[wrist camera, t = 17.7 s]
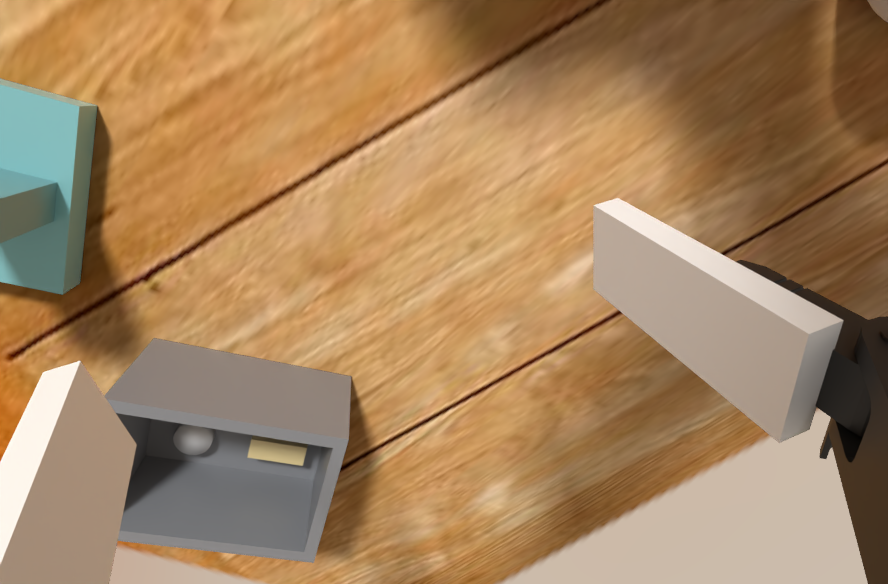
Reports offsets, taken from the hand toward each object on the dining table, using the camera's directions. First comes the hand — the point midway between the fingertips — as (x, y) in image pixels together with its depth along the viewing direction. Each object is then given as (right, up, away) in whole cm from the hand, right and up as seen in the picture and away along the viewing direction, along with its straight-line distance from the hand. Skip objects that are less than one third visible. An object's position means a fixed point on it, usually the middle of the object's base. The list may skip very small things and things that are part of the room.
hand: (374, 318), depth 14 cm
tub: (-13, -9, +27) cm, 31 cm away
